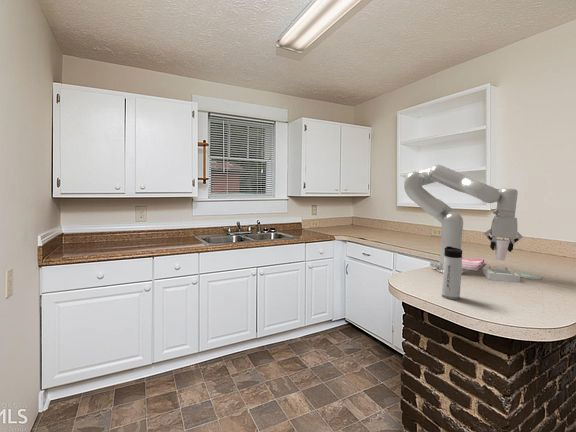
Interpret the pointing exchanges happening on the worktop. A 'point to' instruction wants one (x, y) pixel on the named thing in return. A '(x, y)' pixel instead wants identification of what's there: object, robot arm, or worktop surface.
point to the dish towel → (472, 264)
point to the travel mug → (452, 273)
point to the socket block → (500, 274)
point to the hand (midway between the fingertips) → (501, 250)
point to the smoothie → (501, 248)
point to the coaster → (529, 276)
